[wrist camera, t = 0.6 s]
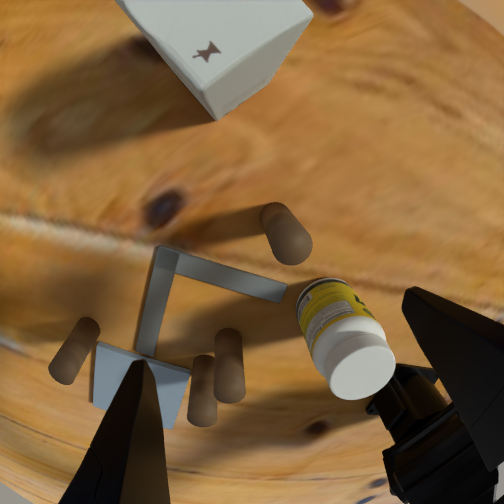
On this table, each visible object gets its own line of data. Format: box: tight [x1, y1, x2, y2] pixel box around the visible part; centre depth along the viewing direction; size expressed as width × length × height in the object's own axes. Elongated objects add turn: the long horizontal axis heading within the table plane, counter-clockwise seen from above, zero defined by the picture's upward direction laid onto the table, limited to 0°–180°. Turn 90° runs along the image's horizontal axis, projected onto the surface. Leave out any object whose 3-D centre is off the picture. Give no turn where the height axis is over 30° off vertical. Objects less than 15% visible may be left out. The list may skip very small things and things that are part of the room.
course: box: [48, 202, 313, 427], centre depth 20 cm, size 14×15×6 cm
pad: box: [93, 341, 191, 430], centre depth 25 cm, size 8×8×1 cm
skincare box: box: [115, 0, 313, 121], centre depth 12 cm, size 6×4×12 cm
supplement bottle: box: [296, 278, 396, 400], centre depth 20 cm, size 5×5×8 cm
